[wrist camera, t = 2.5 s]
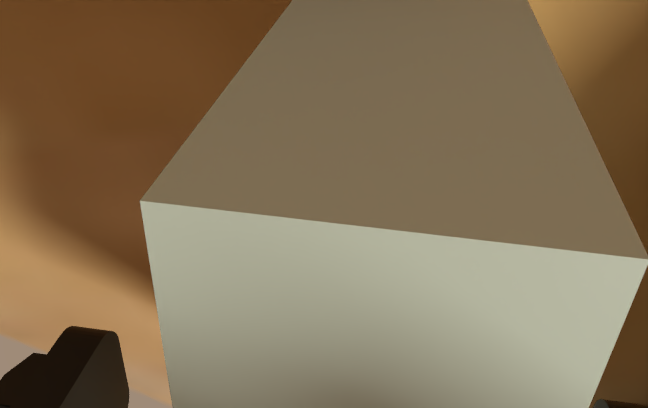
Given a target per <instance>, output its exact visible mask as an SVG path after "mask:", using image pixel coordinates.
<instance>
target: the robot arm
mask: <svg viewBox="0 0 648 408" xmlns="http://www.w3.org/2000/svg"><path fill="white" fill-rule="evenodd" d="M128 403H129V387H128V382H127V378H126V373H125V368H124V363H123V358H122V353H121V348H120V343H119V339H118V336H117V334H116V333H115V332H113V331H106V330H99V329H92V328H84V327H77V326H71V327H68V328H67V329H66V330H64V331H63V333H62V334H61V335H60V337H59V338H58V340H57V341H56V342H55V344H54V345H53V347H52V348H51V350H50V351H49V352H48V354H47V355H46V354H39V353H33V354H31V355H30V356H29V357H27V358H26V359H25V360H23V361H22V362H21V363H19V364H18V365H17V366H16V367H14V368H13V369H11V370H10V371H9V372H7V373H6V374H5V375H4V376H3V377H2V379H1V380H0V408H128ZM593 408H648V406H647V405H640V404H633V403H625V402H618V401H611V400H603V399H600V400H598V401H597V402H596V403H595V405H594V407H593Z"/></svg>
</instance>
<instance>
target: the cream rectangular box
mask: <svg viewBox="0 0 648 408" xmlns="http://www.w3.org/2000/svg"><path fill="white" fill-rule="evenodd" d="M140 206H141V212H142V218H143V224H144V231H145V237H146V243H147V249H148V256H149V262H150V268H151V275H152V281H153V287H154V293H155V300H156V306H157V312H158V318H159V325H160V331H161V337H162V344H163V350H164V356H165V362H166V369H167V375H168V381H169V387H170V394H171V400H172V406H173V408H589V406H590V404H591V401H592V399H593V396H594V394H595V391H596V389H597V387H598V384H599V382H600V379H601V377H602V374H603V372H604V370H605V367H606V365H607V362H608V360H609V358H610V355H611V353H612V350H613V348H614V345H615V343H616V341H617V338H618V336H619V333H620V331H621V328H622V326H623V324H624V321H625V319H626V316H627V314H628V311H629V309H630V307H631V304H632V302H633V299H634V297H635V295H636V292H637V290H638V287H639V285H640V282H641V280H642V278H643V275H644V273H645V270H646V268H647V265H648V255H647V253H646V250H645V248H644V246H643V244H642V242H641V240H640V238H639V236H638V233H637V231H636V229H635V227H634V225H633V223H632V221H631V219H630V217H629V214H628V212H627V210H626V208H625V206H624V204H623V202H622V200H621V198H620V195H619V193H618V191H617V189H616V187H615V185H614V183H613V181H612V178H611V176H610V174H609V172H608V170H607V168H606V166H605V164H604V162H603V159H602V157H601V155H600V153H599V151H598V149H597V147H596V145H595V142H594V140H593V138H592V136H591V134H590V132H589V130H588V128H587V126H586V123H585V121H584V119H583V117H582V115H581V113H580V111H579V109H578V106H577V104H576V102H575V100H574V98H573V96H572V94H571V92H570V90H569V87H568V85H567V83H566V81H565V79H564V77H563V75H562V73H561V71H560V68H559V66H558V64H557V62H556V60H555V58H554V56H553V54H552V51H551V49H550V47H549V45H548V43H547V41H546V39H545V37H544V35H543V32H542V30H541V28H540V26H539V24H538V22H537V20H536V18H535V15H534V13H533V11H532V9H531V7H530V5H529V3H528V1H527V0H292V1H291V3H290V4H289V5H288V7H287V8H286V9H285V11H284V12H283V13H282V15H281V16H280V17H279V18H278V20H277V21H276V22H275V24H274V25H273V26H272V28H271V29H270V30H269V32H268V33H267V34H266V36H265V37H264V38H263V40H262V41H261V42H260V43H259V45H258V46H257V47H256V49H255V50H254V51H253V53H252V54H251V55H250V57H249V58H248V59H247V61H246V62H245V63H244V64H243V66H242V67H241V68H240V70H239V71H238V72H237V74H236V75H235V76H234V78H233V79H232V80H231V82H230V83H229V84H228V85H227V87H226V88H225V89H224V91H223V92H222V93H221V95H220V96H219V97H218V99H217V100H216V101H215V103H214V104H213V105H212V106H211V108H210V109H209V110H208V112H207V113H206V114H205V116H204V117H203V118H202V120H201V121H200V122H199V124H198V125H197V126H196V127H195V129H194V130H193V131H192V133H191V134H190V135H189V137H188V138H187V139H186V141H185V142H184V143H183V145H182V146H181V147H180V148H179V150H178V151H177V152H176V154H175V155H174V156H173V158H172V159H171V160H170V162H169V163H168V164H167V166H166V167H165V168H164V169H163V171H162V172H161V173H160V175H159V176H158V177H157V179H156V180H155V181H154V183H153V184H152V185H151V187H150V188H149V189H148V191H147V192H146V193H145V194H144V196H143V197H142V198H141V200H140Z"/></svg>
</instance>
